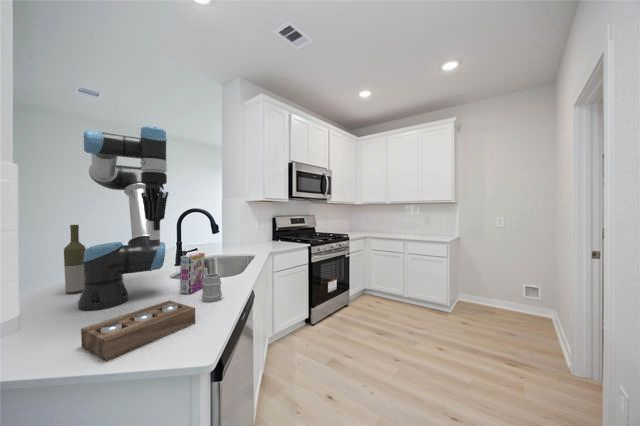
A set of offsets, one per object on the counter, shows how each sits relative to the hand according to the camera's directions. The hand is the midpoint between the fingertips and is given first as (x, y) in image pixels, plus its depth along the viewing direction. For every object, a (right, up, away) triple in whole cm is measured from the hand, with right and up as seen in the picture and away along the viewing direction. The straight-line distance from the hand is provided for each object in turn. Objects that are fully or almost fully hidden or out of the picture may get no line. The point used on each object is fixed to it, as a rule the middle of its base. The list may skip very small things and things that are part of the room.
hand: (154, 239), depth 91 cm
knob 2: (+6, -26, -14) cm, 30 cm away
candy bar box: (+1, -26, +26) cm, 37 cm away
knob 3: (+10, -26, -7) cm, 29 cm away
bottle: (-50, -26, +23) cm, 61 cm away
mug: (+12, -26, +17) cm, 33 cm away
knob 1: (+2, -26, -21) cm, 34 cm away
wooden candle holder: (+6, -27, -14) cm, 31 cm away
